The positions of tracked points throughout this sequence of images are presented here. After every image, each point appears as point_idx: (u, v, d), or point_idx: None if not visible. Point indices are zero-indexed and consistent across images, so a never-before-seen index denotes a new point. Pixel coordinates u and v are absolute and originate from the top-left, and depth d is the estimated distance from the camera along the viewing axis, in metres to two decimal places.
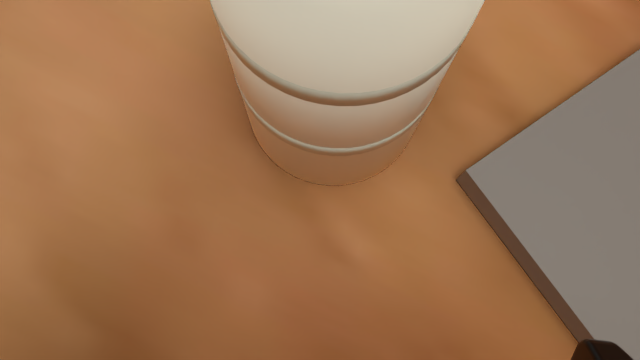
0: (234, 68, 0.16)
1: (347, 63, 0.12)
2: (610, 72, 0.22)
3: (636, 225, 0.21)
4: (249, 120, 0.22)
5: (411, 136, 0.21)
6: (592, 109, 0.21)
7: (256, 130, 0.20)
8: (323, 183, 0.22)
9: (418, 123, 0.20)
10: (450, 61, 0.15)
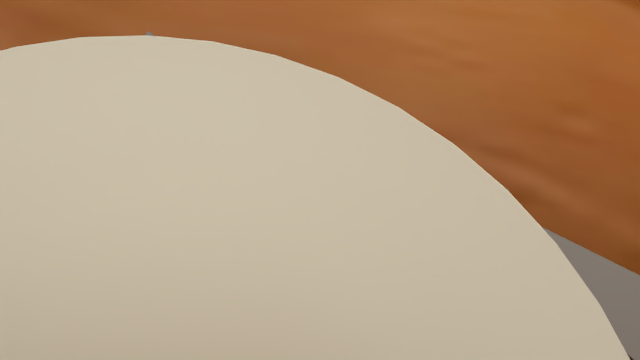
0: None
1: None
2: None
3: None
4: None
5: None
6: None
7: None
8: None
9: None
10: None
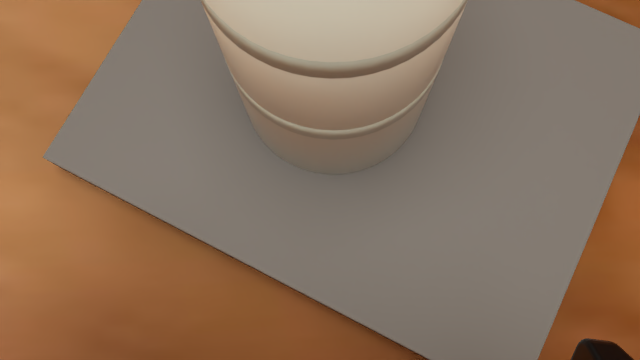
0: (221, 46, 0.15)
1: (335, 24, 0.10)
2: (139, 8, 0.23)
3: (211, 129, 0.22)
4: None
5: (417, 118, 0.20)
6: (135, 48, 0.22)
7: (252, 117, 0.19)
8: (325, 172, 0.21)
9: (423, 103, 0.19)
10: (452, 27, 0.13)
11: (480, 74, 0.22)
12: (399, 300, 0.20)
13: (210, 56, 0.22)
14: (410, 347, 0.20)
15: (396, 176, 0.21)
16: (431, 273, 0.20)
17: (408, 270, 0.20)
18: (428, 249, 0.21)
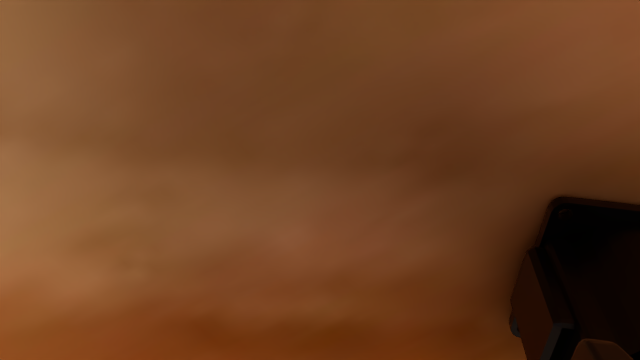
0: None
1: None
2: None
3: None
4: None
5: None
6: None
7: None
8: None
9: None
10: None
11: None
12: None
13: None
14: None
15: None
16: None
17: None
18: None
